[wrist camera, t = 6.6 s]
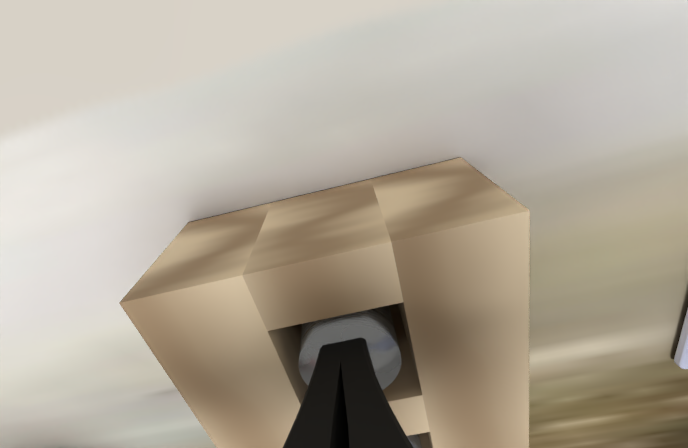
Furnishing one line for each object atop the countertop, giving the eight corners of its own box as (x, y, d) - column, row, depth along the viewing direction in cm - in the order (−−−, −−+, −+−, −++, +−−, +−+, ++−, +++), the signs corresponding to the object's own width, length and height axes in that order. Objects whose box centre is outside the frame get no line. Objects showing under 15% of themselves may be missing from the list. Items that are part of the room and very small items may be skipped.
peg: (373, 238, 14) (392, 315, 10) (387, 299, 15) (408, 389, 11) (298, 256, 14) (285, 338, 10) (318, 314, 16) (314, 407, 11)
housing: (460, 157, 13) (529, 210, 8) (480, 385, 19) (528, 489, 14) (188, 222, 14) (119, 303, 9) (286, 422, 19) (273, 532, 15)
